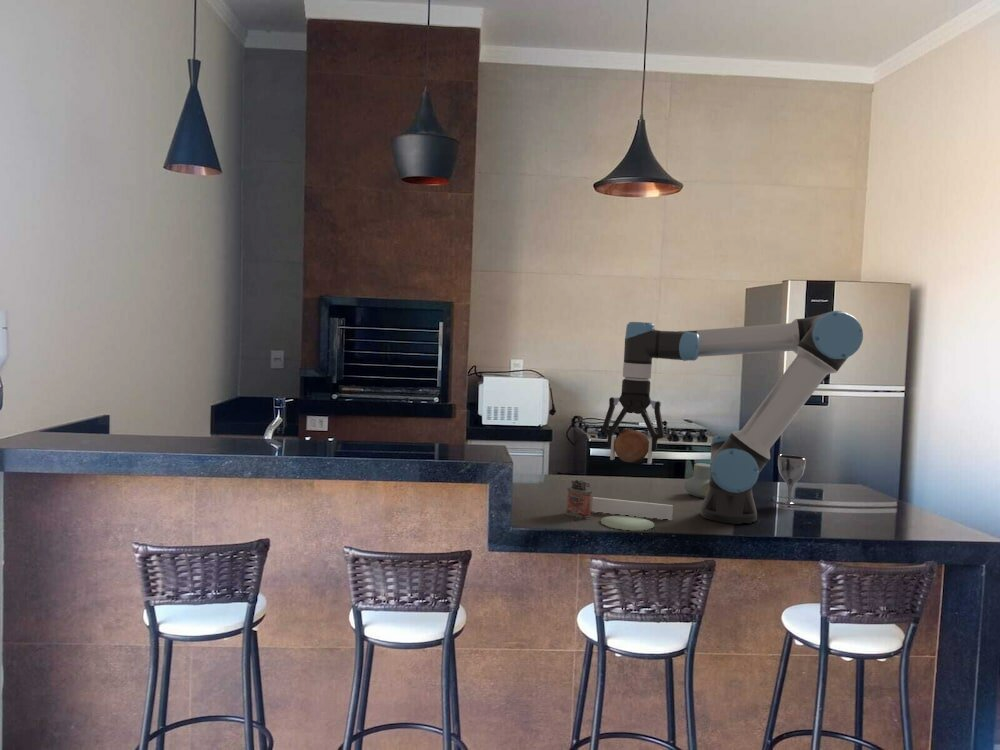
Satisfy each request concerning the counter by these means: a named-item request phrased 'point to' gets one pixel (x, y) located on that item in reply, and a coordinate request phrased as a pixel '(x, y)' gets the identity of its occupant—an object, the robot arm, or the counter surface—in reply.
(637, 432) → the onion
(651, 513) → the low wall
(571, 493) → the lighter
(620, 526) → the pad
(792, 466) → the wine glass
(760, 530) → the counter surface
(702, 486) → the air freshener
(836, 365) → the robot arm
